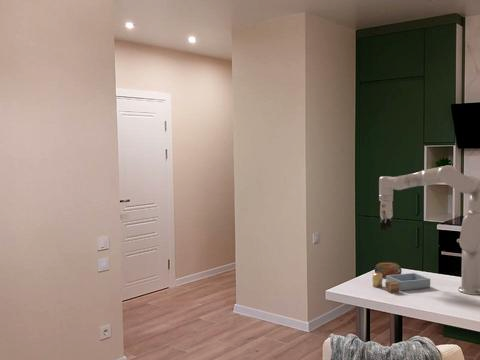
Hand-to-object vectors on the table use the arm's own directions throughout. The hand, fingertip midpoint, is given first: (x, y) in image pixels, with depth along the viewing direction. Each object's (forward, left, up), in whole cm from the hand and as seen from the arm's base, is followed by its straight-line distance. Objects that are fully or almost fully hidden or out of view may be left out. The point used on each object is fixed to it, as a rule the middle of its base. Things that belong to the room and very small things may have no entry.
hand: (385, 228), depth 276 cm
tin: (+7, -6, -30) cm, 32 cm away
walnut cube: (-20, +9, -30) cm, 37 cm away
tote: (-14, -5, -30) cm, 33 cm away
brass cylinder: (-9, +11, -30) cm, 33 cm away
